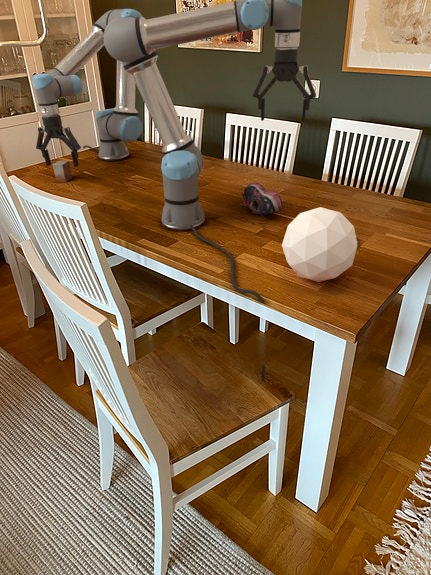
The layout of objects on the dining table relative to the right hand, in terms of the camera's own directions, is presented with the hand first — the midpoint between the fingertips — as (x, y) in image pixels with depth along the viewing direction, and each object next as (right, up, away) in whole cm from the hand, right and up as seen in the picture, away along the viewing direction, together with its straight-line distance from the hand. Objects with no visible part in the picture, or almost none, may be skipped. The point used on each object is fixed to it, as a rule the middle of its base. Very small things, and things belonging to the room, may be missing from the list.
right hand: (282, 120), depth 148 cm
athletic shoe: (-7, -28, +15) cm, 32 cm away
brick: (-90, -8, +51) cm, 104 cm away
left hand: (-90, -2, +47) cm, 102 cm away
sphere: (+5, -53, -25) cm, 58 cm away
